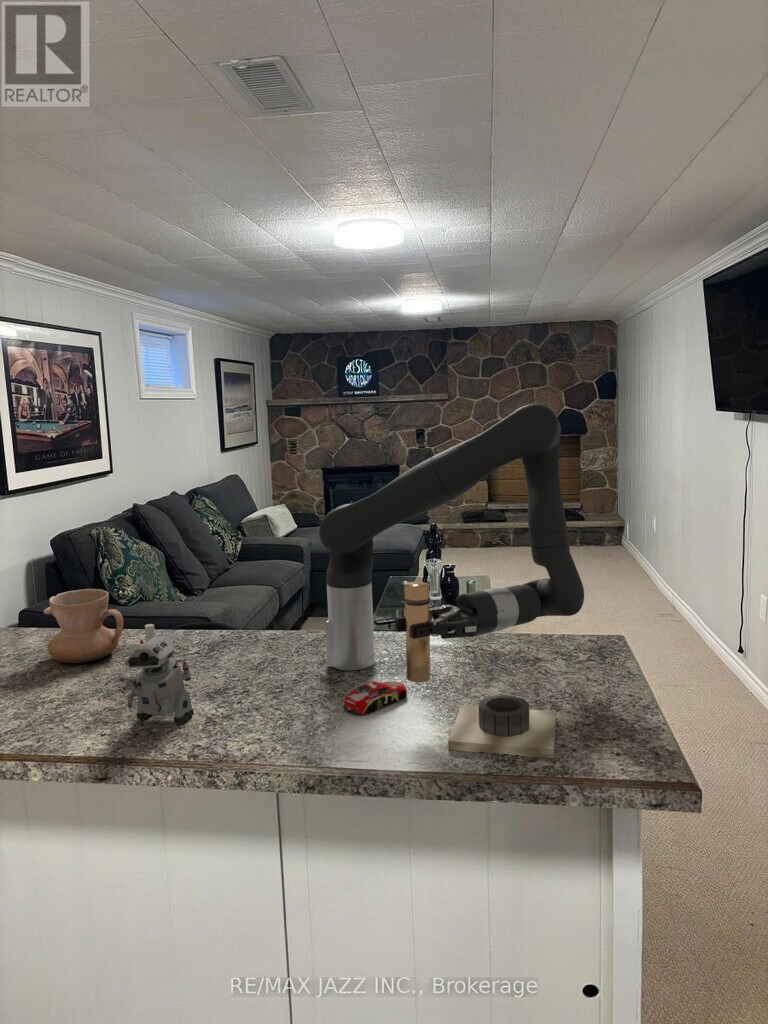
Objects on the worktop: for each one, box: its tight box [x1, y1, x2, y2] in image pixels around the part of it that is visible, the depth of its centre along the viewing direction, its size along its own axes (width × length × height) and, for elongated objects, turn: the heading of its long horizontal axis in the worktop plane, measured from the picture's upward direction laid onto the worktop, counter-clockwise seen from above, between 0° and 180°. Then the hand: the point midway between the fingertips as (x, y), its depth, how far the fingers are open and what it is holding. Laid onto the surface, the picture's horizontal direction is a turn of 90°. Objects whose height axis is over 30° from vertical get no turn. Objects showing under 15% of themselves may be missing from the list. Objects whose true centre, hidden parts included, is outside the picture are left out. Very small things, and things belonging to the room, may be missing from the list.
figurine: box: [124, 634, 195, 726], centre depth 130 cm, size 9×12×15 cm
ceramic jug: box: [43, 588, 124, 664], centre depth 166 cm, size 18×14×14 cm
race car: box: [343, 681, 408, 715], centre depth 136 cm, size 13×5×4 cm, turn 132°
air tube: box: [403, 581, 431, 683], centre depth 125 cm, size 4×4×16 cm
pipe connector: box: [128, 623, 156, 655], centre depth 156 cm, size 10×10×10 cm
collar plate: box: [447, 694, 557, 760], centre depth 122 cm, size 16×14×5 cm
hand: (403, 628), depth 124 cm, fingers closed on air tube, 4 cm apart
